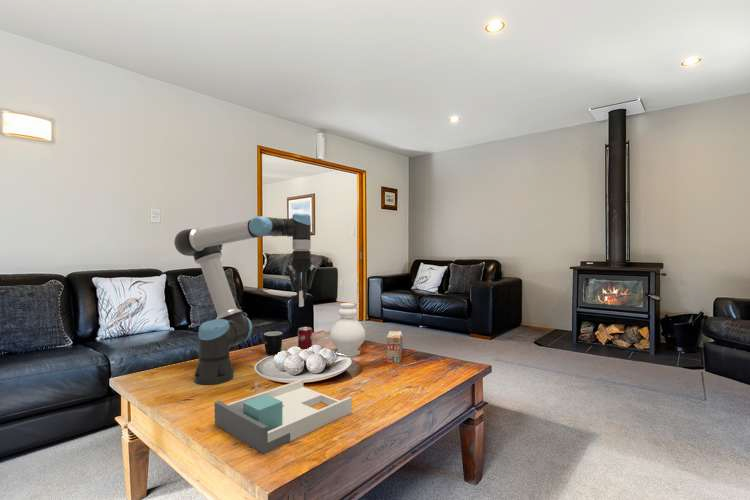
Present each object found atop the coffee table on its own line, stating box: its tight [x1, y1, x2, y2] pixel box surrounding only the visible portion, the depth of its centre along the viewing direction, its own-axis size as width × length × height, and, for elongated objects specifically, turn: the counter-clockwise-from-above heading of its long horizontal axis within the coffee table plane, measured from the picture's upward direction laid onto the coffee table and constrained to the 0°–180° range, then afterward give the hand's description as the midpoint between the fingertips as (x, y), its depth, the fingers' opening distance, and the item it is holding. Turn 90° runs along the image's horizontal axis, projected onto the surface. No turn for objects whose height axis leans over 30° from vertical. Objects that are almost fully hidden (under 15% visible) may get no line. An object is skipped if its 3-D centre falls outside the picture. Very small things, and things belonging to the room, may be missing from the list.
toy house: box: [386, 330, 404, 364], centre depth 196 cm, size 21×6×12 cm, turn 173°
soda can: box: [297, 326, 313, 349], centre depth 203 cm, size 7×7×12 cm
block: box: [243, 395, 283, 431], centre depth 117 cm, size 8×8×7 cm
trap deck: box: [214, 379, 353, 455], centre depth 127 cm, size 34×26×7 cm
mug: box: [263, 331, 283, 356], centre depth 199 cm, size 12×9×10 cm
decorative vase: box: [329, 302, 366, 357], centre depth 201 cm, size 18×18×25 cm
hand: (301, 306), depth 168 cm, fingers closed
